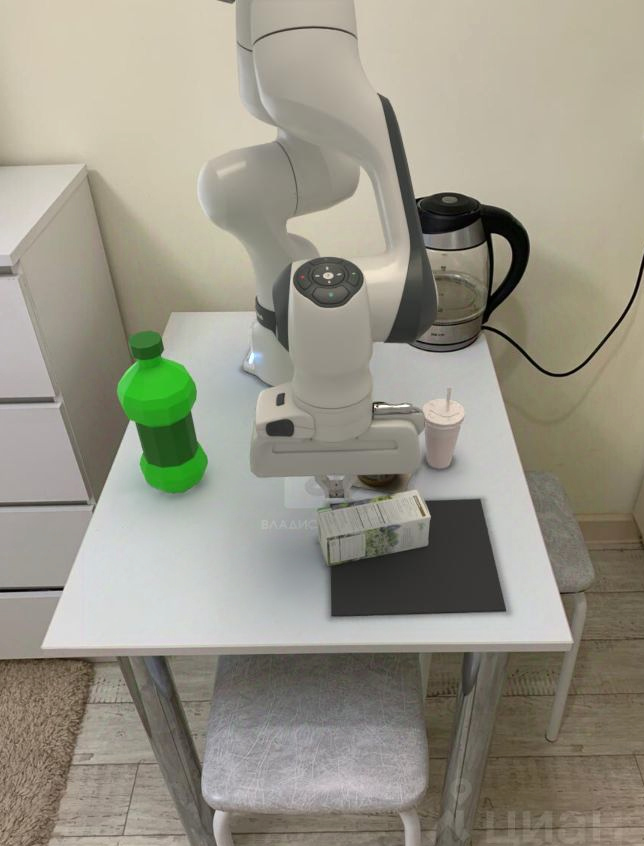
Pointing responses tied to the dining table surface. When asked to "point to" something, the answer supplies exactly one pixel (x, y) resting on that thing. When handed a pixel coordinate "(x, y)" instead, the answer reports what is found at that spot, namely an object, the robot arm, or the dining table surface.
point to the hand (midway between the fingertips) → (336, 495)
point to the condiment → (383, 479)
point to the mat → (426, 570)
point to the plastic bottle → (162, 415)
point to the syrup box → (373, 527)
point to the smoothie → (442, 429)
